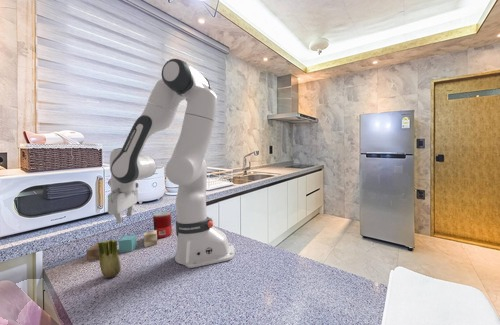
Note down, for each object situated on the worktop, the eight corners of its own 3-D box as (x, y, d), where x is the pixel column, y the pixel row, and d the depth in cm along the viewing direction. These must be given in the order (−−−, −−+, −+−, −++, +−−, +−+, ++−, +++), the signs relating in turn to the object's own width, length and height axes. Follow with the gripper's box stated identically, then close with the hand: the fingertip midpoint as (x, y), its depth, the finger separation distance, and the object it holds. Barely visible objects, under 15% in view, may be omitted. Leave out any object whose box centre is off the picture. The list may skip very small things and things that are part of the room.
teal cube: (136, 246, 96) (136, 235, 96) (132, 251, 91) (131, 239, 91) (124, 247, 96) (123, 236, 95) (119, 252, 91) (118, 240, 90)
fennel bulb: (98, 277, 72) (95, 241, 71) (113, 270, 76) (110, 236, 76) (109, 281, 70) (106, 244, 69) (124, 273, 74) (121, 238, 73)
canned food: (175, 233, 109) (173, 211, 108) (161, 239, 102) (159, 216, 102) (165, 231, 113) (163, 210, 113) (151, 237, 106) (149, 214, 106)
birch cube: (157, 240, 102) (156, 229, 101) (157, 244, 97) (156, 233, 97) (145, 242, 100) (144, 231, 100) (144, 246, 95) (143, 235, 95)
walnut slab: (115, 250, 93) (114, 241, 93) (105, 258, 86) (104, 248, 86) (98, 252, 93) (97, 242, 92) (87, 260, 86) (86, 250, 85)
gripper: (119, 190, 82) (121, 226, 83) (140, 183, 103) (141, 212, 103) (101, 191, 82) (103, 228, 82) (125, 183, 102) (127, 213, 102)
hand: (124, 219), depth 93 cm, fingers open, 8 cm apart
